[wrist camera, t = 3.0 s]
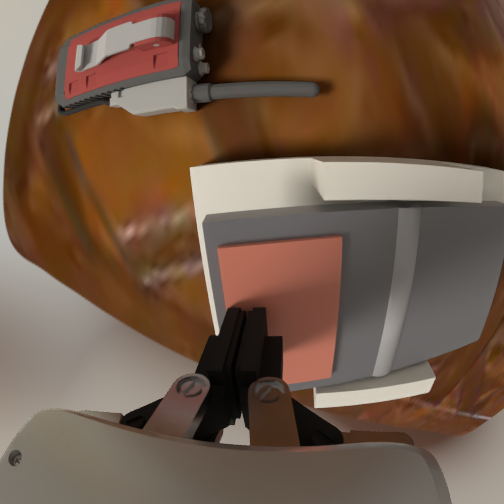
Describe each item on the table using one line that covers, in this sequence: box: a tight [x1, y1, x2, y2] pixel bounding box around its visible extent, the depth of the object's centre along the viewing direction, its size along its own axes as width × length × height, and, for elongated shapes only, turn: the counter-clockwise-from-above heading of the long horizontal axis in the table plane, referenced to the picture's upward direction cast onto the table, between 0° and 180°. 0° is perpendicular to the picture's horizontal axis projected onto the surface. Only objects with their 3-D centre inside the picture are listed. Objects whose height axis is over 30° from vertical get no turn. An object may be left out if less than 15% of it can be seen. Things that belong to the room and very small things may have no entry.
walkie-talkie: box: [55, 0, 320, 116], centre depth 13 cm, size 9×4×20 cm
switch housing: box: [190, 156, 504, 408], centre depth 15 cm, size 22×14×8 cm, turn 94°
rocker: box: [202, 200, 504, 391], centre depth 13 cm, size 18×10×2 cm, turn 95°
